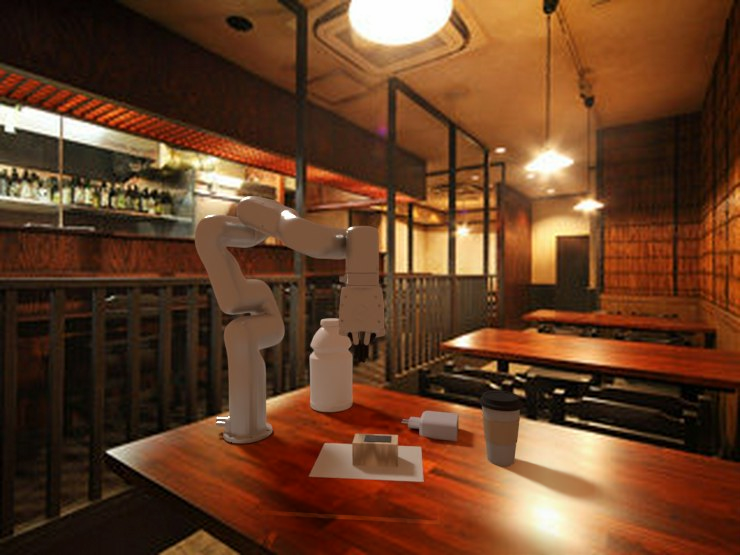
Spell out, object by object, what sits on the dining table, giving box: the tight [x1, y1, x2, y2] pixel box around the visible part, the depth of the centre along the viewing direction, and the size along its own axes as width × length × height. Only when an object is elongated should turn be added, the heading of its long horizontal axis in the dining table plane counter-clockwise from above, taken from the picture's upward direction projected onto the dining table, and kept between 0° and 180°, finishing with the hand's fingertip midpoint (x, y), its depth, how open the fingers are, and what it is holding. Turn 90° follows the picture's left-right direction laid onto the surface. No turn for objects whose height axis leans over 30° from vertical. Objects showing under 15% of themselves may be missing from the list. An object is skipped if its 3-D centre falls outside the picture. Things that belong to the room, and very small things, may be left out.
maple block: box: [351, 433, 399, 467], centre depth 90 cm, size 5×5×10 cm
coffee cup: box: [478, 389, 523, 467], centre depth 91 cm, size 9×9×15 cm
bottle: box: [309, 317, 354, 413], centre depth 128 cm, size 14×14×28 cm
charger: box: [401, 410, 460, 442], centre depth 107 cm, size 5×9×15 cm
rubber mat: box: [308, 442, 425, 483], centre depth 90 cm, size 24×16×1 cm, turn 84°
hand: (361, 361), depth 90 cm, fingers closed
